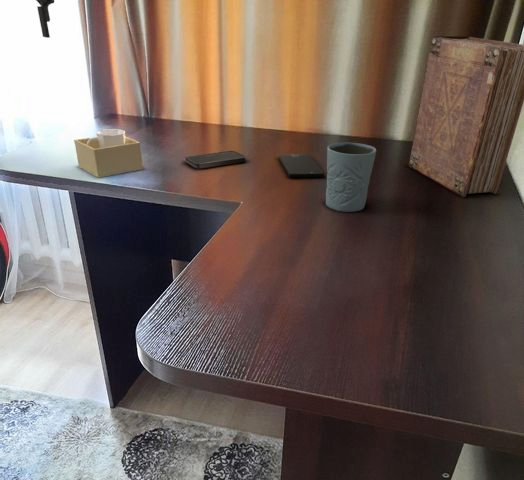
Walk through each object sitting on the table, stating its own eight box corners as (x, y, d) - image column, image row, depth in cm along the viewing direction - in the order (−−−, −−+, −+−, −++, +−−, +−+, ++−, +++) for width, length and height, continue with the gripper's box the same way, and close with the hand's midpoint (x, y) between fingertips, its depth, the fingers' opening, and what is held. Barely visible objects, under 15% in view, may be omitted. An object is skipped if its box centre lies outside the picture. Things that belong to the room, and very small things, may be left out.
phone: (247, 157, 136) (196, 164, 129) (247, 161, 136) (196, 168, 130) (233, 150, 141) (183, 156, 134) (233, 154, 142) (184, 161, 135)
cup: (132, 167, 128) (128, 134, 123) (92, 171, 124) (86, 137, 120) (126, 160, 133) (121, 127, 128) (87, 164, 130) (81, 130, 125)
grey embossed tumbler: (329, 213, 107) (336, 155, 100) (316, 197, 115) (321, 142, 108) (375, 211, 108) (384, 153, 101) (358, 195, 116) (366, 140, 109)
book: (497, 194, 119) (540, 47, 102) (463, 197, 117) (502, 47, 99) (437, 164, 139) (466, 36, 121) (407, 166, 137) (432, 36, 119)
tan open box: (98, 177, 122) (93, 149, 119) (78, 166, 129) (73, 139, 126) (143, 169, 129) (140, 142, 125) (122, 159, 136) (118, 133, 132)
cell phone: (309, 157, 141) (309, 153, 140) (324, 177, 126) (324, 173, 126) (278, 157, 140) (278, 154, 139) (289, 177, 125) (289, 174, 125)
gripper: (44, -68, 123) (62, 35, 135) (-71, -77, 110) (-39, 38, 122) (56, -69, 118) (73, 37, 131) (-62, -79, 105) (-30, 40, 117)
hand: (19, 38), depth 126 cm, fingers open, 13 cm apart
